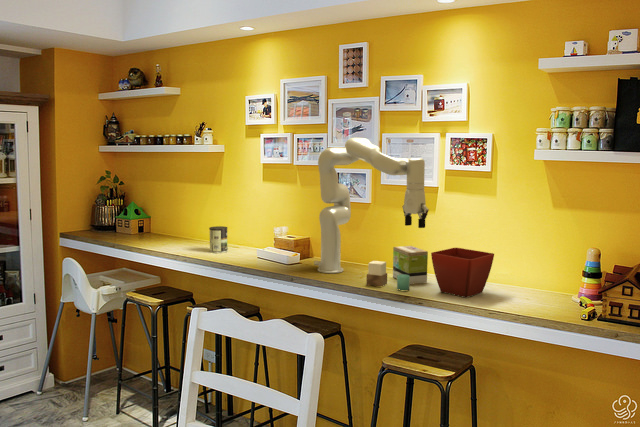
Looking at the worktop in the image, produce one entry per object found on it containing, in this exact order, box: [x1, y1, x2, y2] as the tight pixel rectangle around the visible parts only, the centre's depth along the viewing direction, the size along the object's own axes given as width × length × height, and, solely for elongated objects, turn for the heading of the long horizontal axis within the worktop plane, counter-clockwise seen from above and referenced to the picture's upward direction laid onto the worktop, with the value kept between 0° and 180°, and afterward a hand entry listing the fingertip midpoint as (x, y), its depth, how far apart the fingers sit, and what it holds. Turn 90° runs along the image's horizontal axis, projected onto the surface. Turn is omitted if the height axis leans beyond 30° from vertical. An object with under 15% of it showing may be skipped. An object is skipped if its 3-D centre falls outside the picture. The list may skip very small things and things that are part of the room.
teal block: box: [396, 274, 410, 290], centre depth 235 cm, size 5×5×6 cm
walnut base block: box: [365, 272, 388, 287], centre depth 243 cm, size 7×7×5 cm
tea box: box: [392, 245, 429, 285], centre depth 252 cm, size 15×10×15 cm, turn 21°
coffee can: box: [209, 225, 229, 254], centre depth 318 cm, size 10×10×14 cm
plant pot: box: [430, 247, 495, 298], centre depth 230 cm, size 19×19×17 cm
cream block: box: [367, 260, 387, 276], centre depth 243 cm, size 6×6×5 cm
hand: (414, 226), depth 240 cm, fingers open, 9 cm apart
